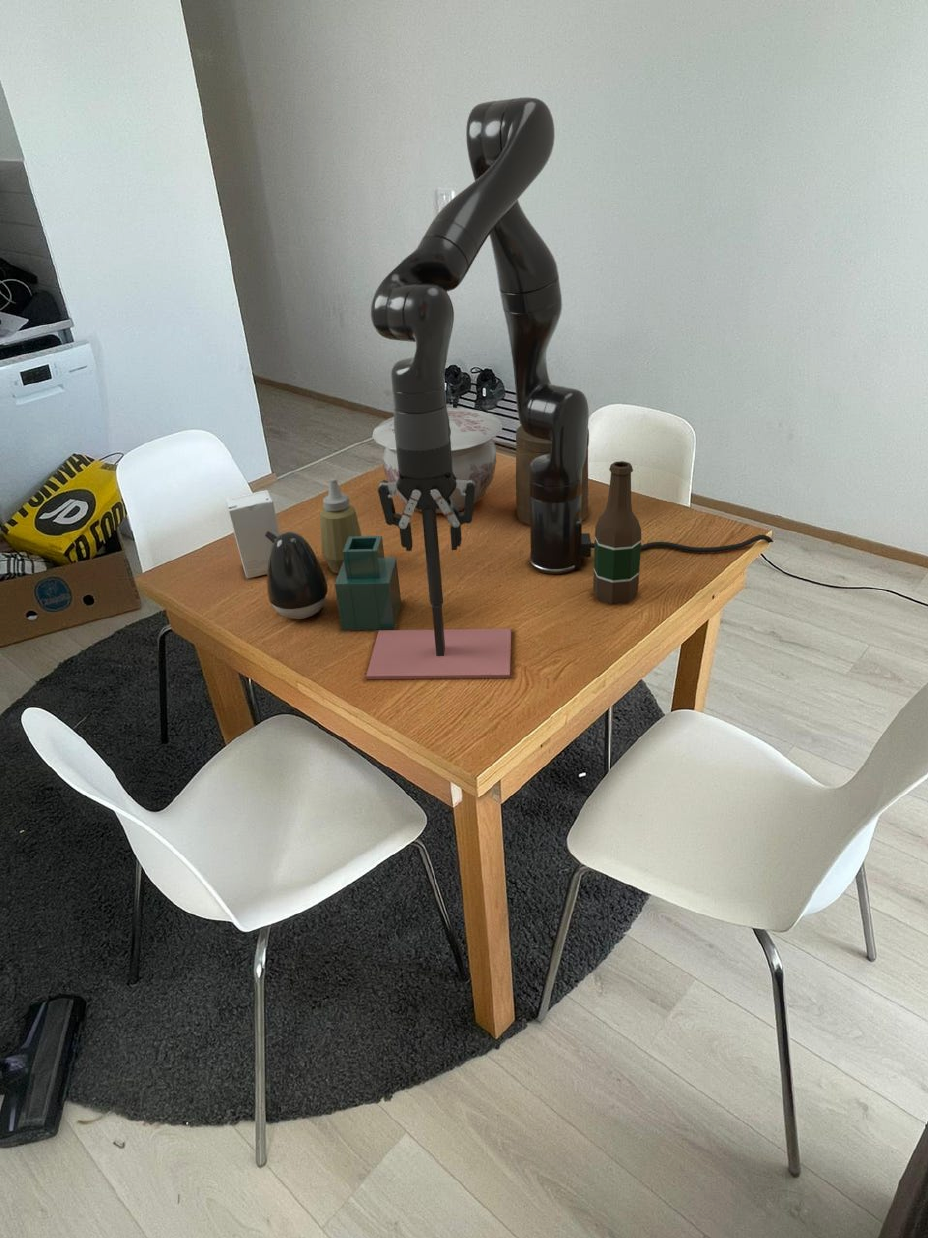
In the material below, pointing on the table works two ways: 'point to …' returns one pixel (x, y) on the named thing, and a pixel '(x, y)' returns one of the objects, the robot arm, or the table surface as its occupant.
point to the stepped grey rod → (434, 576)
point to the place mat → (462, 656)
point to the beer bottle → (617, 542)
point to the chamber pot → (453, 450)
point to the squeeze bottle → (337, 525)
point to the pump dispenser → (294, 577)
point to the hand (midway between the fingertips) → (432, 547)
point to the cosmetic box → (253, 529)
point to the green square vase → (367, 586)
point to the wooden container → (525, 454)
